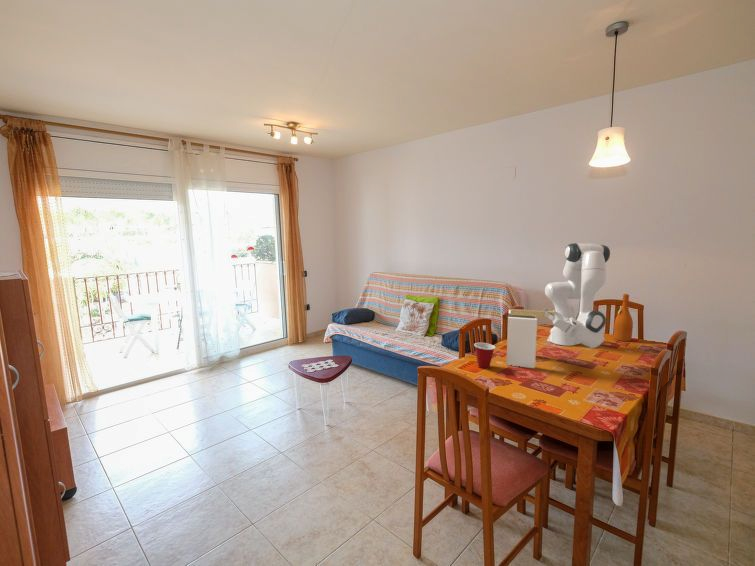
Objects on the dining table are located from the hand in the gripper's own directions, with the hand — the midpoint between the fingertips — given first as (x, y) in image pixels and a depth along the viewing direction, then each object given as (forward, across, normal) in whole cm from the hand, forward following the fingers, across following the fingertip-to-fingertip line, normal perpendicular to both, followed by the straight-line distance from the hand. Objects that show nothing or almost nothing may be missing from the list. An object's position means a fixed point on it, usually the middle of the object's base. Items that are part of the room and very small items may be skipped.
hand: (544, 311), depth 186 cm
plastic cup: (+10, +12, +40) cm, 43 cm away
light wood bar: (+3, 0, +5) cm, 6 cm away
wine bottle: (-59, -64, 0) cm, 87 cm away
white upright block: (-5, -4, +31) cm, 31 cm away
